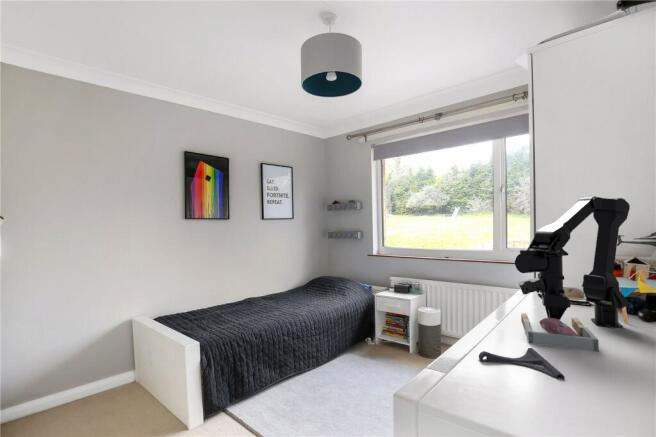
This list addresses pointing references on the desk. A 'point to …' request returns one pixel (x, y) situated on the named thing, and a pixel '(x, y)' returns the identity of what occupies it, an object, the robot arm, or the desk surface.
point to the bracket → (524, 362)
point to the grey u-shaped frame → (563, 339)
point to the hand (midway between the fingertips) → (552, 322)
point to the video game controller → (556, 327)
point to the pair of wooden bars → (575, 323)
